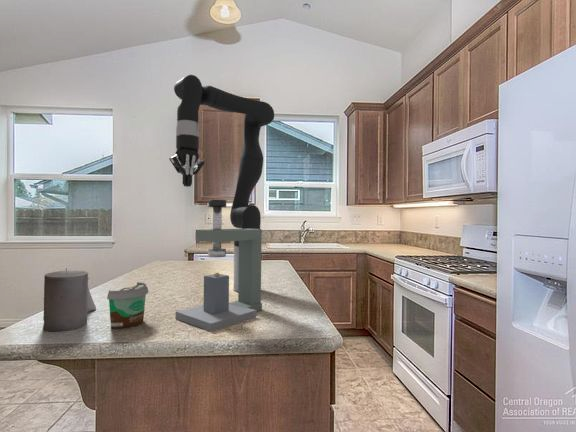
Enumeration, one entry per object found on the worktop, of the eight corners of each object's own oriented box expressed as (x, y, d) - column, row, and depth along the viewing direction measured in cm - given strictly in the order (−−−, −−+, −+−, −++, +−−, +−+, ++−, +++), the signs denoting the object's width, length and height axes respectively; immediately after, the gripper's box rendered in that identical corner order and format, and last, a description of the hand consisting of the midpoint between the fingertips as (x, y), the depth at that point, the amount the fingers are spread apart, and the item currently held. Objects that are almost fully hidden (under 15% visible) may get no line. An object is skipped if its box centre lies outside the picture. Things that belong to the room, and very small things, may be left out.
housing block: (217, 307, 99) (217, 270, 99) (228, 310, 96) (229, 272, 96) (203, 311, 96) (203, 273, 96) (214, 314, 92) (215, 275, 92)
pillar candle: (33, 330, 84) (34, 270, 84) (64, 318, 94) (65, 264, 94) (67, 333, 83) (68, 272, 83) (96, 321, 92) (97, 266, 92)
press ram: (218, 254, 99) (218, 200, 99) (229, 256, 96) (230, 200, 96) (204, 256, 96) (204, 199, 96) (215, 257, 92) (215, 199, 92)
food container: (128, 333, 83) (128, 292, 83) (106, 331, 84) (107, 291, 84) (157, 318, 95) (157, 282, 95) (138, 316, 96) (138, 281, 96)
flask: (65, 310, 102) (65, 277, 102) (91, 305, 107) (92, 274, 107) (72, 315, 97) (72, 280, 97) (100, 310, 102) (100, 277, 102)
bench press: (237, 302, 113) (237, 228, 113) (272, 311, 102) (273, 229, 102) (175, 318, 95) (176, 229, 95) (210, 331, 85) (211, 232, 85)
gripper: (197, 140, 123) (197, 188, 123) (164, 133, 113) (163, 185, 113) (210, 138, 118) (209, 187, 118) (176, 130, 108) (176, 184, 108)
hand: (187, 186), depth 116 cm, fingers closed
